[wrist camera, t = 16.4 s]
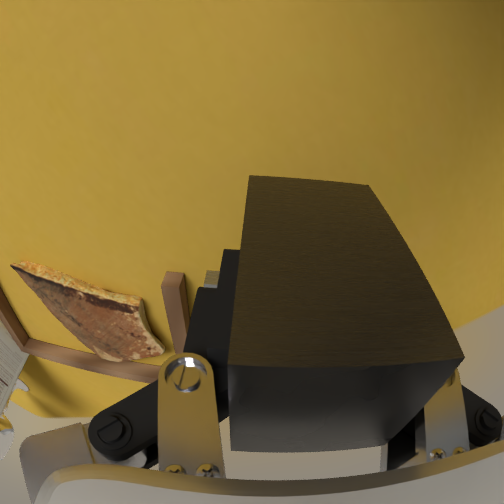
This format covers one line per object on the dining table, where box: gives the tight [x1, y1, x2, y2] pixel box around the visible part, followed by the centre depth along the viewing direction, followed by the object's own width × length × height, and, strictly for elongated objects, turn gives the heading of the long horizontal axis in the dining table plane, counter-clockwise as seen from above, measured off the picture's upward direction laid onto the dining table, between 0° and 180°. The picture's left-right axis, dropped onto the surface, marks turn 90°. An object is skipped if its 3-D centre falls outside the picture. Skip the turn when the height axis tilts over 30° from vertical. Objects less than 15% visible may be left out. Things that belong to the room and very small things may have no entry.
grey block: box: [204, 175, 465, 452], centre depth 11 cm, size 12×7×7 cm, turn 177°
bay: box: [0, 272, 190, 383], centre depth 20 cm, size 18×11×1 cm, turn 88°
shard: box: [10, 261, 165, 362], centre depth 19 cm, size 11×8×2 cm
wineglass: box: [0, 379, 29, 460], centre depth 26 cm, size 6×6×12 cm
